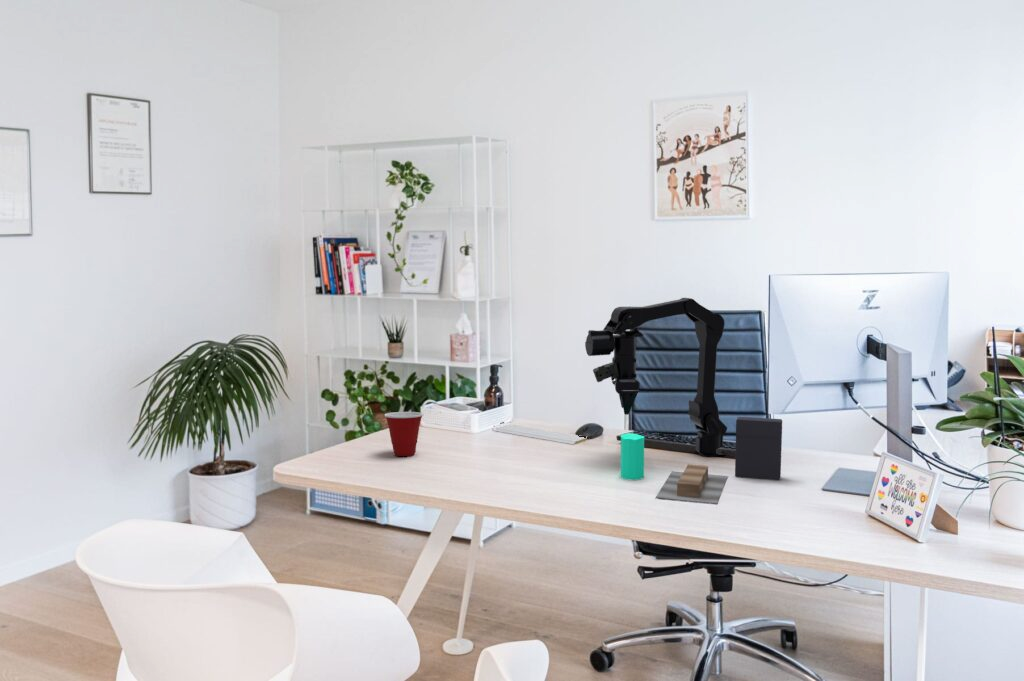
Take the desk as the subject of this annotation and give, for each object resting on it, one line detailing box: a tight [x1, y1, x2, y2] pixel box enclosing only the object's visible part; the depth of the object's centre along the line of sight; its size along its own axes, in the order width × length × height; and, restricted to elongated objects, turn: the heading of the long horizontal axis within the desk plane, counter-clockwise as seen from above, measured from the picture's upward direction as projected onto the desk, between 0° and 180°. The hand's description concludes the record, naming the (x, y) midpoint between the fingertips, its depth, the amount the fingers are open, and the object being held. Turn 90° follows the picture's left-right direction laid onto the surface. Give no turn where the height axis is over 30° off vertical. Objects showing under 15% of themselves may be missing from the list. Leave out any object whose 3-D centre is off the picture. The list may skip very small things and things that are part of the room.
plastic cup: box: [384, 411, 424, 458], centre depth 245 cm, size 11×11×12 cm
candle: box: [620, 429, 645, 481], centre depth 221 cm, size 6×6×12 cm
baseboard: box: [493, 421, 589, 446], centre depth 268 cm, size 30×3×10 cm
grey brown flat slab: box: [655, 463, 728, 505], centre depth 212 cm, size 24×14×3 cm, turn 161°
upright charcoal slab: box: [734, 416, 783, 481], centre depth 220 cm, size 11×4×15 cm, turn 71°
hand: (625, 410), depth 237 cm, fingers open, 9 cm apart
